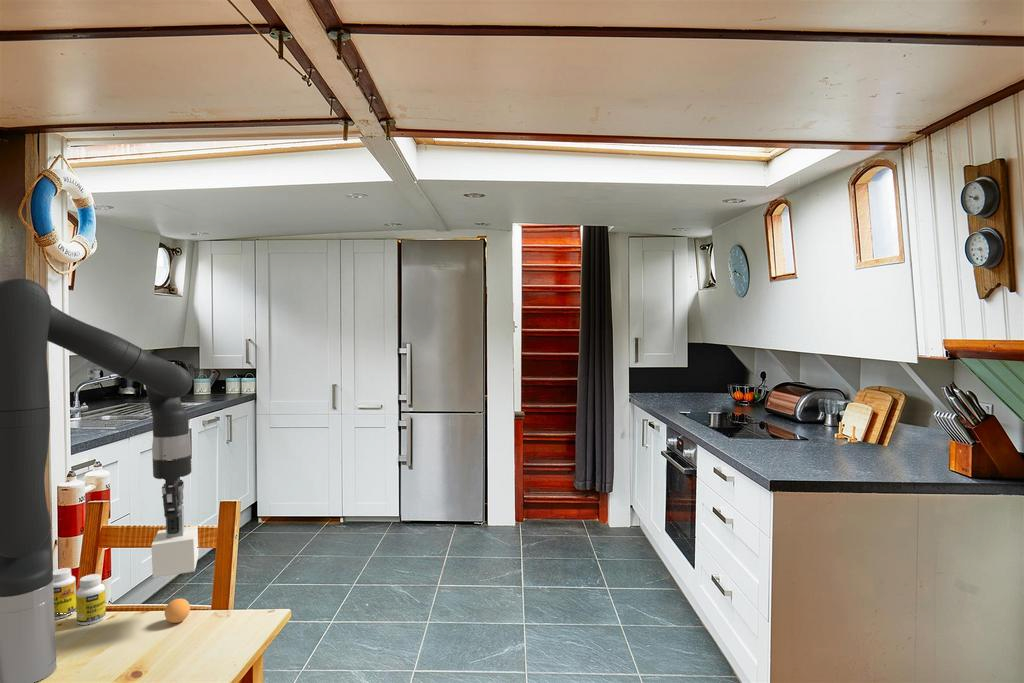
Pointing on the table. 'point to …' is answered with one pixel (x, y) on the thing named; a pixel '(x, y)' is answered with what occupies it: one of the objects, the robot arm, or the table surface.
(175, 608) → the ball
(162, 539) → the white block
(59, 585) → the supplement bottle
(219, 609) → the table surface
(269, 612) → the table surface
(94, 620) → the supplement bottle
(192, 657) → the table surface
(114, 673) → the table surface
